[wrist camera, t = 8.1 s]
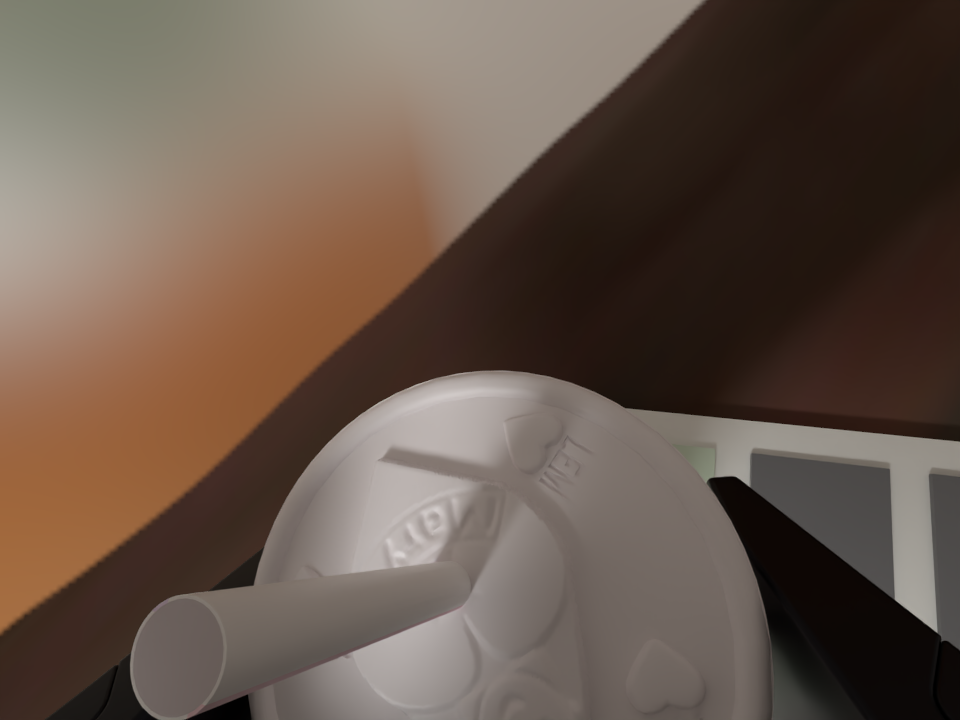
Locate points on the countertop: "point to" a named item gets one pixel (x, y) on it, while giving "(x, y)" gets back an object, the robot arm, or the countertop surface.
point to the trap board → (848, 498)
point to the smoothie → (480, 576)
